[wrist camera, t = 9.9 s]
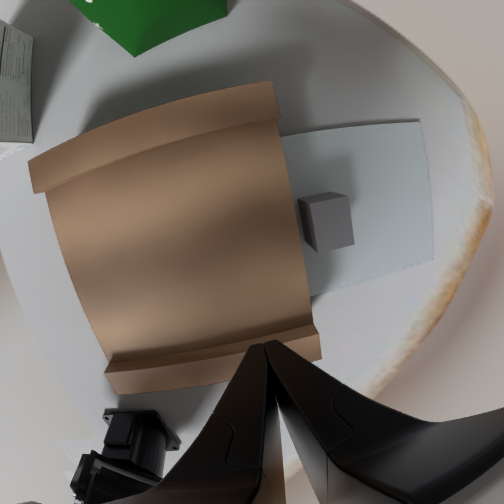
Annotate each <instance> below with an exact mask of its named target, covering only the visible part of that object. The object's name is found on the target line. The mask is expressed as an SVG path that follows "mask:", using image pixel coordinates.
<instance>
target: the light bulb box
mask: <svg viewBox="0 0 504 504" xmlns="http://www.w3.org/2000/svg"><path fill="white" fill-rule="evenodd" d="M32 47H33V37H31V36H29V35H27V34H26V33H24V32H22V31H20V30H18V29H17V28H15V27H13V26H11V25H9V24H7V23H6V22H4V21H2V20H0V160H2V159H3V158H5V157H7V156H9V155H11V154H13V153H15V152H17V151H19V150H21V149H23V148H25V147H27V146H29V145H31V144H33V139H32V125H31V100H30V88H31V60H32Z"/></svg>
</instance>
